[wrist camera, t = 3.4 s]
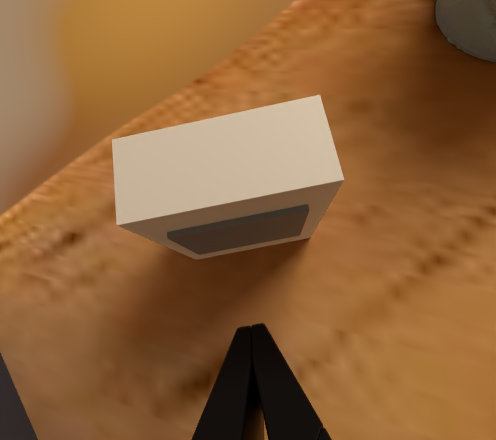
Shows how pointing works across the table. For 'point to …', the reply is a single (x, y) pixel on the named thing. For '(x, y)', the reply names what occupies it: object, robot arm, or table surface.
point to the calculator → (12, 410)
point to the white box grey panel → (229, 179)
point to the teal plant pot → (469, 26)
